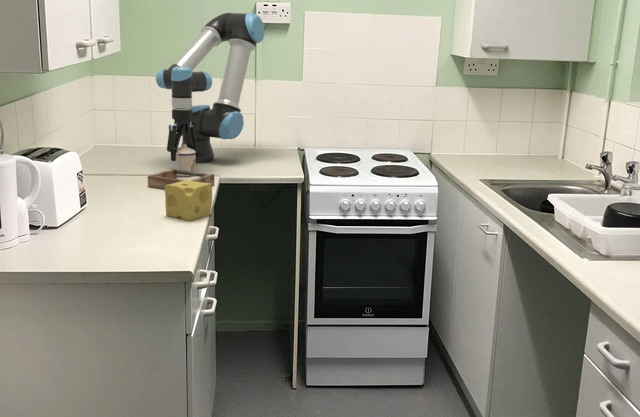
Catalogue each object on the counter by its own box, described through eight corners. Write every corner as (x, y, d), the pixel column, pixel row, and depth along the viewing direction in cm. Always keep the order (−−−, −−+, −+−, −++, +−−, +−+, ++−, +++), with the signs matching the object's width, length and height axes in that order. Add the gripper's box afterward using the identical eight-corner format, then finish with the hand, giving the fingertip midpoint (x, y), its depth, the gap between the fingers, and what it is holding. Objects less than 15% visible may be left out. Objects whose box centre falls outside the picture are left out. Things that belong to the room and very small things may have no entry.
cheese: (190, 221, 208) (189, 189, 206) (163, 215, 214) (162, 184, 211) (213, 214, 217) (212, 183, 214) (187, 209, 223) (186, 178, 220)
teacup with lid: (196, 176, 267) (196, 146, 264) (172, 176, 265) (172, 146, 262) (195, 170, 278) (195, 141, 276) (171, 170, 276) (171, 141, 274)
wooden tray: (173, 179, 262) (173, 168, 261) (214, 184, 255) (214, 174, 254) (147, 187, 249) (147, 176, 248) (190, 193, 242) (190, 182, 241)
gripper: (190, 105, 276) (190, 162, 281) (156, 110, 256) (157, 170, 262) (206, 107, 273) (206, 164, 278) (173, 112, 254) (173, 172, 259)
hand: (182, 167), depth 270 cm, fingers open, 9 cm apart
